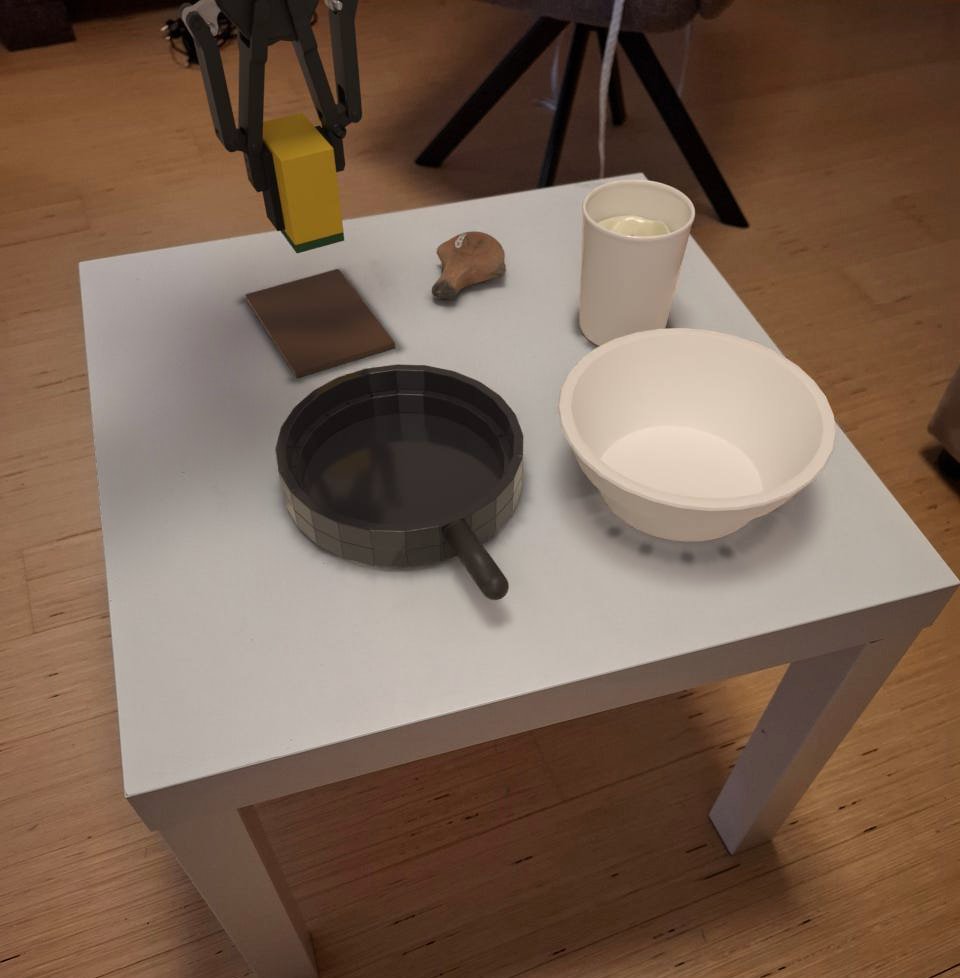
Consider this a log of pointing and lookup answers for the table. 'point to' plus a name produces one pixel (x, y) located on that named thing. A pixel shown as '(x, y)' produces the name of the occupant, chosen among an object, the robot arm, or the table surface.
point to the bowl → (694, 430)
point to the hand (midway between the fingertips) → (304, 215)
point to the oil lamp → (468, 262)
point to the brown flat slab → (319, 322)
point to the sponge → (305, 182)
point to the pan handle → (476, 560)
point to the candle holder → (631, 256)
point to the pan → (399, 463)
